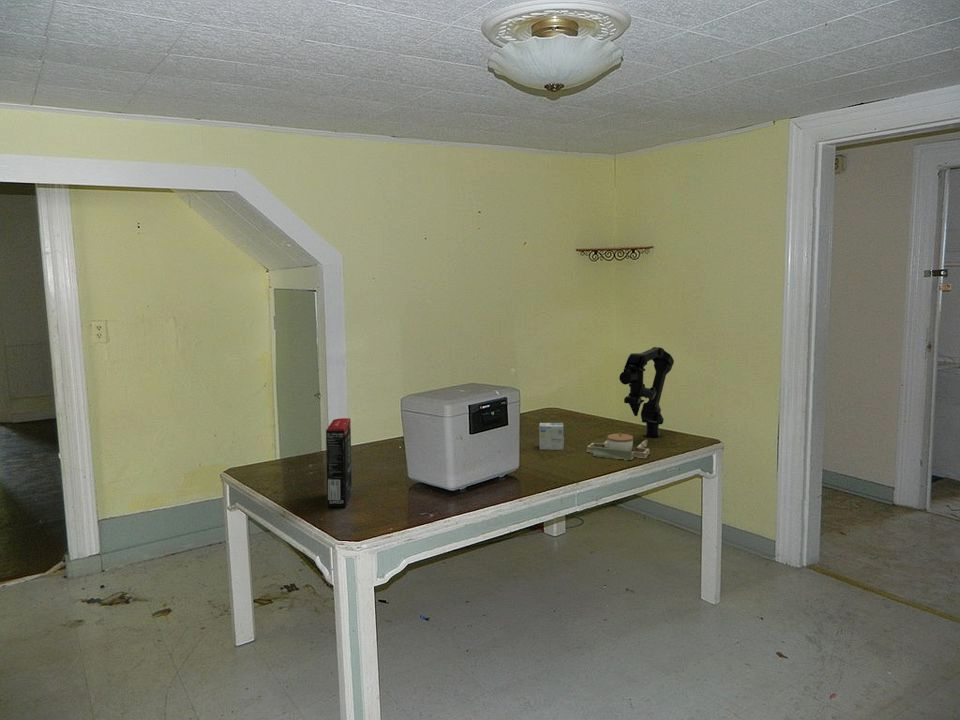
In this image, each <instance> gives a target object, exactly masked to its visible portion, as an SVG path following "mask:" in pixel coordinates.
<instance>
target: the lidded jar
mask: <svg viewBox="0 0 960 720" xmlns="http://www.w3.org/2000/svg"><path fill="white" fill-rule="evenodd" d="M606 439H607V440H608V447H607V448H610V449H619V450H628V451H632V448H633V443H634V436H633V435H631V434H627V433H622V432H618V433H612V434H607V438H606Z"/></svg>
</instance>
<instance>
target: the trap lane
mask: <svg viewBox="0 0 960 720" xmlns="http://www.w3.org/2000/svg"><path fill="white" fill-rule="evenodd" d="M647 446H648V439H644V440H643V441H642V442H641V443H640V444H639V445H637V447H635V451H632V450H631V451H628V450H619V449H610V448H608V439H607V440H605V441H604V442H603V443H600V442H592V443H590V444H588V445H587V446H586V453H587V452H590V453H589V454H592V455H593V456H596V457H595V458H601V457H605V458H604V459H610V458H615V459H614V460H618V459H624V460H623V461H627V460H632V459H633V458H634V457H638V458H637V459H639V458H646V457H647V456H648V455H649V454H650V448H646V447H647ZM606 447H607V448H606ZM650 455H651V454H650ZM650 455H649V456H650ZM593 456H592V457H593ZM649 456H648V457H649ZM648 457H647V458H648ZM647 458H646V459H647ZM634 459H635V458H634ZM632 461H633V460H632Z"/></svg>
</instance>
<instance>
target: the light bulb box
mask: <svg viewBox="0 0 960 720" xmlns="http://www.w3.org/2000/svg"><path fill="white" fill-rule="evenodd" d="M538 432H539V434H538V435H539V439H538V440H539V450H548V451H549V450H551V451H552V450H555V451H556V450H557V451H559V450H560V451H561V450H562V451H564V446H565V443H564V441H565V439H564V437H565V436H564V434H565V433H564V432H565V431H564V422H539V430H538Z"/></svg>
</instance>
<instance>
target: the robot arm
mask: <svg viewBox="0 0 960 720" xmlns="http://www.w3.org/2000/svg"><path fill="white" fill-rule="evenodd" d="M649 361H653V363H654V364H653V367H654V370H655V374H654V378H653V380H652V381H653V382H652V385H651V387H650V388H649V387H646V384H645V383H644V372H645V371H646V368H645V367H646V366H647V365H648V362H649ZM674 363H675V360H674V358H673V356H672V355H671V354H670V353H669V352H667V351H666V350H665V349H664V348H663V347H661V346H659V347H658V346H654V347H652V348H649V349H647V350H645V351H643V352H638V353H637V352H635V353H634V352H633V353H630V354H629V356H627V360H626V362H625V365H624V367H623V371H622V372H621V373H620V375H619V381H620V383H621V384H622V385H624V386H625V385H628V387H629V393H628V395H627V396H626V397H624V398H623V402H624V404H628V405H629V407H630V409H631V411H632V413H633V415H634V417H638V414H639V411H640V408H641V405H642V408H641V411H640V418H641V419H640V420H641V423H644V424H645V434H643V437H647V438H659V437H660V436H661V433H659V430H660V427H659V425H663V423H664V419H665V418H663V415H662V414H661V411H662V409H661V406H660V400H661V397H662V392H663V390H664V389H663V388H664V385H665V380H666V376H667V375H668V374H669V373H670V372H671V370H672V369H673V365H674ZM642 398H645V399H648V401H647V402H645V399H642Z"/></svg>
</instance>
